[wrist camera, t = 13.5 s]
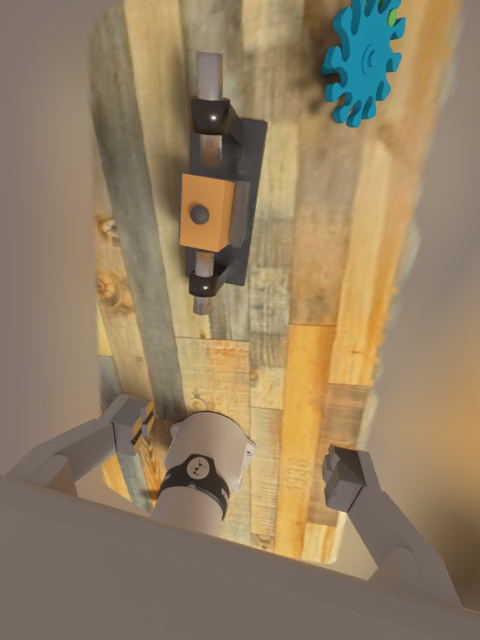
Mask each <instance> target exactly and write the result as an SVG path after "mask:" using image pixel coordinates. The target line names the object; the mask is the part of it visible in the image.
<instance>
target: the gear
mask: <svg viewBox="0 0 480 640" xmlns="http://www.w3.org/2000/svg"><path fill="white" fill-rule="evenodd" d="M366 1H367V0H351V2H352V9H351V7H350V6H348V7H346V8H343V9H341V10H340V11H339V12H338V13H337V15H336V17H335V18H334V20H333V28H334V30H335V32H336V33H337V34H338V35H339V37H340V40H341V45H342V54H341V49H340V47H339V46H335V47H331V48H328V50H327V53H326V56H325V61H324V63H323V64H322V67H321V72H322V74H323V75H327V74H333V73H339V74H340V77H341V82H340V84H339V83H331V84H328V85H327V86H326V90H325V98H326V102H335V101H337V100H338V98H339V97H340V96H341V95H342V94H343V93H345V96H346V99H345V103H344V104H343V106H338V107H336V108H335V110H334V112H333V116H334V119H335V121H336V123H344V122H345V121H346V125H347V126H349V127H359V125H360V123H361V119H371V118H373V117H374V116H375V114H376V105H375V100H376V101H382V100H384V99H385V98H386V97H387V96H388V94H389V92H390V89H391V88H390V84H388V82H387V80H386V72H394V71H396V70H397V68H398V66H399V63H400V60H401V57H402V56H401V53H393V52H392V50H391V48H390V44H389V42H390V40H394V39H398V38H401V37H402V36H403V33H404V29H405V20H406V18H405V17H403V18H399V19H396V16H397V12H396V9H397V8H398V7H399V6H400V4H401V0H368V2H367V3H366ZM351 22H352V24H351ZM354 104H355V107H354V110H353V112H352V113H351V114H350V115H349V116H348V114H349V111H350V109H351V108H352V106H353V105H354ZM364 105H365V106H364ZM347 117H348V118H347ZM346 119H347V120H346Z"/></svg>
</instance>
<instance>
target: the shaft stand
mask: <svg viewBox="0 0 480 640" xmlns="http://www.w3.org/2000/svg"><path fill="white" fill-rule="evenodd" d="M196 64H197V86H198V96H191V97H190V104H191V121H192V132H191V160H190V174H189V173H182V172H181V173H180V220H179V238H180V228H181V203H182V178H183V174H189V175H195V176H201V177H207V178H213V179H219V180H225V181H229V182H233V183H235V190H234V198H233V206H232V214H231V222H230V230H229V238H228V245H227V246H225V247H224V248H223V249H221V250H220V251H219V252H215V251H209V250H204V249H199V248H194V247H188V246H187V272H186V276H189V293H190V294H191V295H193V296H194V305H193V312H194V313H195V314H198V315H207V314H209V313H210V301H211V297H213V296H215V295H216V294H217V292H218V290H219V289H220V288H221V286H222V285H223V284H224V283H228V284H234V285H239V286H244V285H245V279H246V272H247V265H248V258H249V251H250V244H251V237H252V231H253V224H254V217H255V210H256V203H257V196H258V189H259V182H260V175H261V168H262V161H263V155H264V148H265V141H266V134H267V127H268V123H267V122H263V121H255V120H246V119H240V118H239V117H238V115H237V113H236V112H235V110H234V109H233V107H232V106H231V104H230V99H227V98H223V54H220V53H209V52H196Z"/></svg>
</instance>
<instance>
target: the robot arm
mask: <svg viewBox="0 0 480 640" xmlns="http://www.w3.org/2000/svg"><path fill="white" fill-rule="evenodd" d="M153 407H154V402H153V401H151V400H147V399H143V398H140V397H136V396H132V395H128V394H124V393H122V394H120V395H119V396H118V397H117V398H116V399H115V400H114V401H113V402H112V404H111V405H110V406H109V407H108V408H107V409H106V410H105V412H104V413H103V414H102V415H101V416H100V417H99V418H98V419H93V420H91V421H88V422H87V423H84V424H82V425H80V426H78V427H76V428H73V429H71V430H69V431H67V432H65V433H63V434H61V435H59V436H56V437H54V438H52V439H50V440H48V441H46V442H44V443H41V444H39V445H37V446H35V447H34V448H33V449H32V450H31V451H30V452H29V453H28V454H27V455H25V456H24V457H23V458H22V459H21V460H20V461H19V462H18V463H17V464H16V465H15V466H14V467H13V468H12V469H11V470H10V471H9V472H8V473H7V474H6V475H5V476H3V475H0V640H480V613H479V612H476V611H472V610H469V609H466V608H462V606H461V603H460V601H459V598H458V596H457V594H456V591H455V589H454V587H453V585H452V582H451V580H450V577H449V575H448V572H447V570H446V568H445V565H444V563H443V560H442V558H441V557H440V556H439V554H438V553H437V552H436V551H435V550H434V549H433V547H432V546H431V545H430V544H429V543H428V541H427V540H426V539H425V538H424V537H423V536H422V534H421V533H420V532H419V531H418V530H417V529H416V528H415V526H414V525H413V524H412V523H411V522H410V521H409V519H408V518H407V517H406V516H405V514H404V513H403V512H402V511H401V510H400V509H399V507H398V506H397V505H396V504H395V503H394V502H393V500H392V499H391V498H390V497H389V496H388V495H387V494H386V492H383V491H381V488H380V485H379V482H378V478H377V475H376V472H375V469H374V466H373V463H372V460H371V456H370V454H369V453H368V452H366V451H362V450H357V449H354V448H349V447H345V446H341V445H336V444H331V445H330V446H329V449H328V451H329V454H328V455H326V456H325V458H324V461H323V466H322V475H323V480H324V481H325V483H326V484H327V485H326V487H325V489H324V492H325V500H326V507H329V508H332V509H336V510H339V511H343V512H346V513H348V514H347V515H348V516H349V518H350V520H351V521H352V523H353V525H354V527H355V528H356V530H357V532H358V533H359V535H360V537H361V539H362V540H363V542H364V544H365V545H366V547H367V549H368V550H369V552H370V554H371V556H372V557H373V559H374V561H375V563H376V564H377V566H378V569H377V570H376V571H375V572H374V574H373V575H372V576H371V577H370V578H369V580H365V579H361V578H358V577H354V576H350V575H347V574H344V573H340V572H337V571H333V570H330V569H326V568H323V567H319V566H316V565H312V564H309V563H305V562H302V561H298V560H295V559H292V558H288V557H285V556H281V555H278V554H274V553H271V552H267V551H264V550H260V549H257V548H253V547H250V546H247V545H243V544H240V543H236V542H233V541H229V540H226V539H222V538H219V537H218V536H219V531H220V526H221V521H222V520H223V519H224V517H225V514H226V511H227V508H228V504H229V497H230V494H231V493H232V491H233V492H236V493H238V492H239V490H240V486H241V482H242V478H241V476H242V474H243V472H244V470H245V469H246V467H247V465H248V464H249V462H250V460H251V458H252V457H253V455H254V453H255V451H256V445H255V444H254V443H253V442H252V441H251V440H250V439H248V438H247V437H246V436H245V434H244V432H243V431H242V429H241V428H240V427H239V426H238V425H237V424H236V423H235V422H233V421H232V420H230V419H229V418H227V417H225V416H222V415H219V414H216V413H210V412H201V413H196V414H193V415H191V416H189V417H187V418H186V419H185V420H184V421H182V422H178V423H175V424H173V425H172V426H171V429H170V432H171V436H172V443H171V445H170V447H169V450H168V452H167V455H166V457H165V460H164V463H165V466H166V469H167V471H168V472H167V473H166V475H165V478H164V479H163V481H162V483H161V485H160V489H159V492H158V500H157V502H156V505H155V507H154V509H153V512H152V514H151V516H150V518H149V517H146V516H142V515H139V514H135V513H132V512H128V511H125V510H121V509H118V508H114V507H111V506H107V505H104V504H100V503H96V502H93V501H90V500H86V499H83V498H80V497H78V496H77V490H76V487H75V482H76V481H77V480H79V479H80V478H82V477H83V476H84V475H86V474H87V473H89V472H90V471H92V470H93V469H94V468H96V467H97V466H99V465H100V464H101V463H103V462H104V461H106V460H107V459H109V458H110V457H111V456H113V455H114V454H116V452H119V453H123V454H128V455H132V456H135V455H136V453H137V451H138V450H139V448H140V447H141V445H142V443H143V440H142V438H143V437H144V436H146V435H148V433H149V432H150V430H151V427H152V425H153V422H154V413H153V412H152V409H153Z"/></svg>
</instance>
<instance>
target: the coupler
mask: <svg viewBox="0 0 480 640" xmlns="http://www.w3.org/2000/svg"><path fill="white" fill-rule="evenodd" d="M234 190H235V183H233V182H229V181H225V180H219V179H213V178H207V177H201V176H195V175H189V174H183V178H182V203H181V228H180V245H183V246H188V247H194V248H199V249H204V250H209V251H215V252H219V251H220V250H221V249H223V248H224V247H225V246H227V245H228V238H229V230H230V222H231V214H232V206H233V198H234Z"/></svg>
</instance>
